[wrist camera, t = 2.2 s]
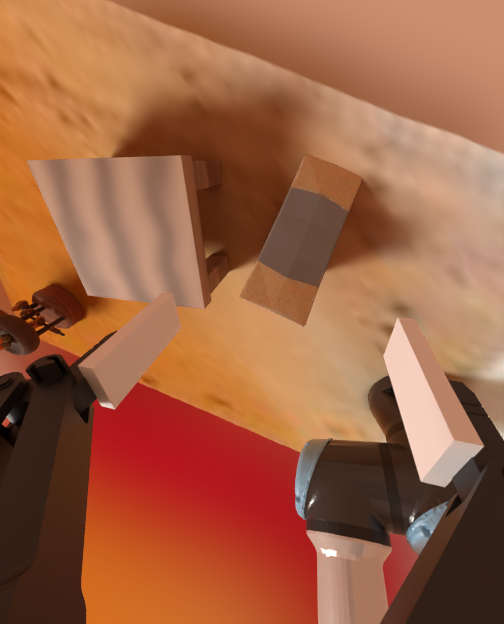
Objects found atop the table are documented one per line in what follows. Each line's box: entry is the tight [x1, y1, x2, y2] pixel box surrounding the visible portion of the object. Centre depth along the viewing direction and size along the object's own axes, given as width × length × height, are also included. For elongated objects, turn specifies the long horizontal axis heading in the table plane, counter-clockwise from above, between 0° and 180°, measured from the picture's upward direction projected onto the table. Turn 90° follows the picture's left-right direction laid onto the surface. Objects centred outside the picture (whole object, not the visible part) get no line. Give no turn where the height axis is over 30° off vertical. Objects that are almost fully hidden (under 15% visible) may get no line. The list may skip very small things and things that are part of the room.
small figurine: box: [0, 285, 83, 355], centre depth 51 cm, size 15×11×20 cm
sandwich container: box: [239, 154, 362, 326], centre depth 29 cm, size 9×15×15 cm, turn 161°
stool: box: [27, 155, 229, 309], centre depth 36 cm, size 20×18×12 cm
